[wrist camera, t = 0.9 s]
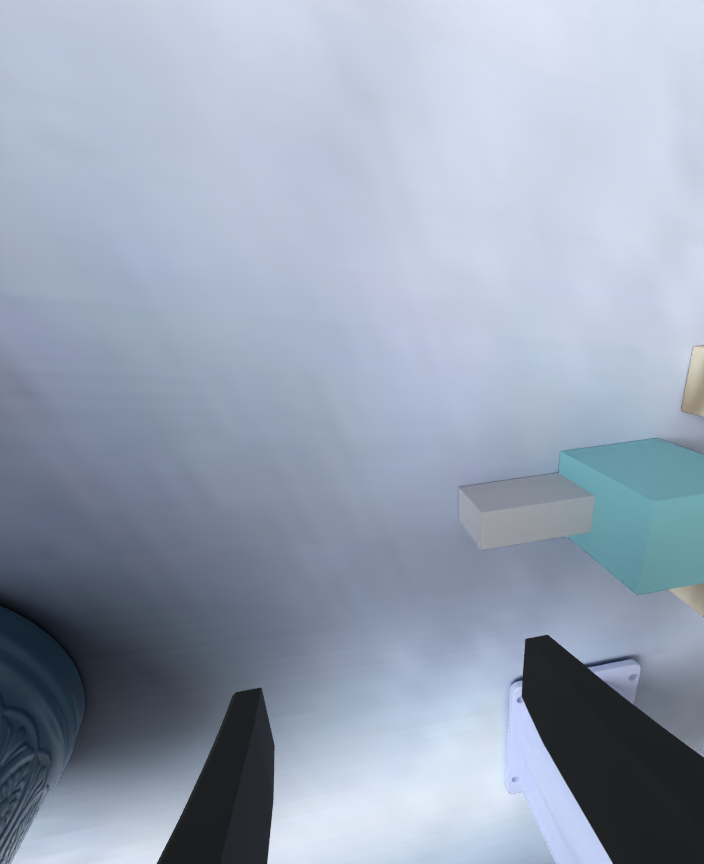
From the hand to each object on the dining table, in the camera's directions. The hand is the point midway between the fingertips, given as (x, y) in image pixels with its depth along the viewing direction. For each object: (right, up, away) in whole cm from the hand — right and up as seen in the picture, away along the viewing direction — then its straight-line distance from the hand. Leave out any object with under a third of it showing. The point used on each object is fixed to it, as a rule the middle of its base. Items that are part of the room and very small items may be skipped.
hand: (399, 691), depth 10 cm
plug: (+9, +4, +9) cm, 13 cm away
